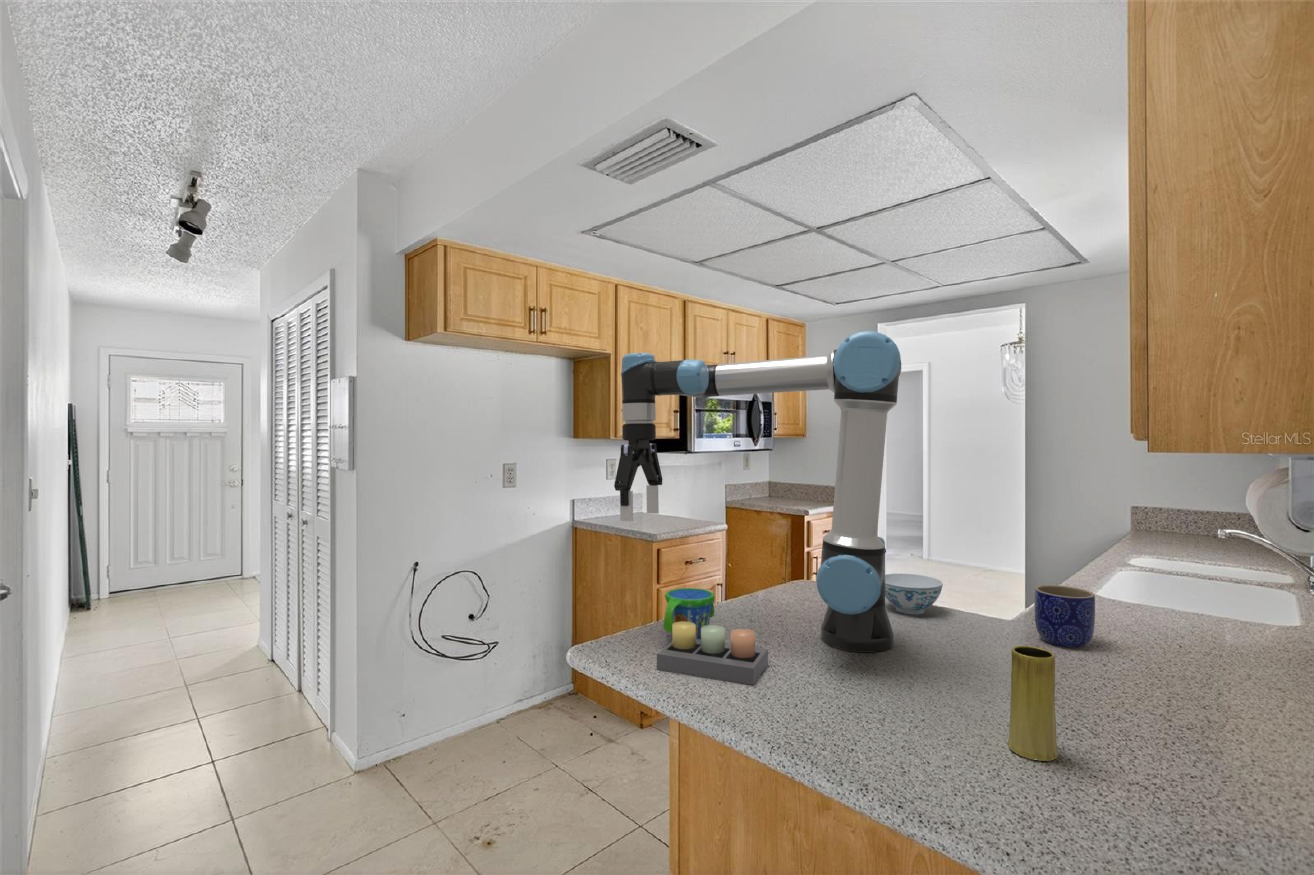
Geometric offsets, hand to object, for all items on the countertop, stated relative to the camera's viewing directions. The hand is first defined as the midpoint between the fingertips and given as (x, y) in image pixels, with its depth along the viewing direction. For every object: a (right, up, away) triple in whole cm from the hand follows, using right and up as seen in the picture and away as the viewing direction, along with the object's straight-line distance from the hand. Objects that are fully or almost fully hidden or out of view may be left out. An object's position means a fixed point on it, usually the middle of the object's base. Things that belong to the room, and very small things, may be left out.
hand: (640, 517), depth 141 cm
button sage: (+15, -23, -20) cm, 34 cm away
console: (+15, -27, -20) cm, 36 cm away
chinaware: (+68, -26, +18) cm, 75 cm away
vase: (+57, -27, -52) cm, 82 cm away
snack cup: (+11, -27, -4) cm, 29 cm away
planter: (+91, -26, -7) cm, 95 cm away
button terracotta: (+20, -23, -22) cm, 38 cm away
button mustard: (+9, -23, -17) cm, 30 cm away
